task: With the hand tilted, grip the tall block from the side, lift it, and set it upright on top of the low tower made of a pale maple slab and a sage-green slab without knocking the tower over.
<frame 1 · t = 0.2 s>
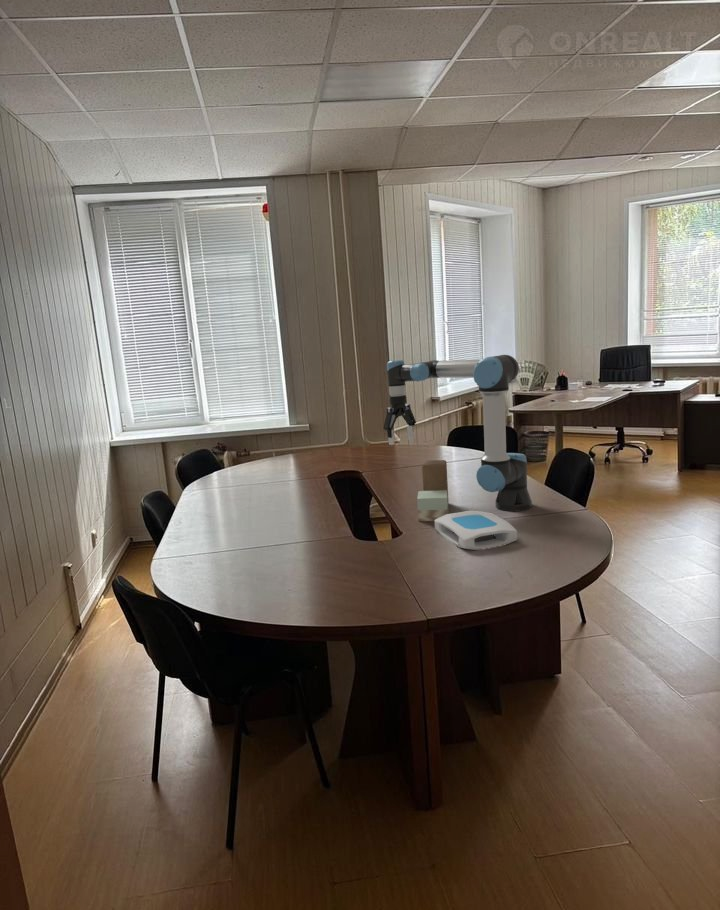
hand: (401, 442, 299), 27 cm above the table, tool pointing down, fingers open, 13 cm apart
block: (436, 507, 292), on the table
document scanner: (474, 537, 249), on the table
tower lower slab: (433, 517, 278), on the table, touching tower upper slab
tower upper slab: (433, 505, 277), point 5 cm above the table, touching tower lower slab
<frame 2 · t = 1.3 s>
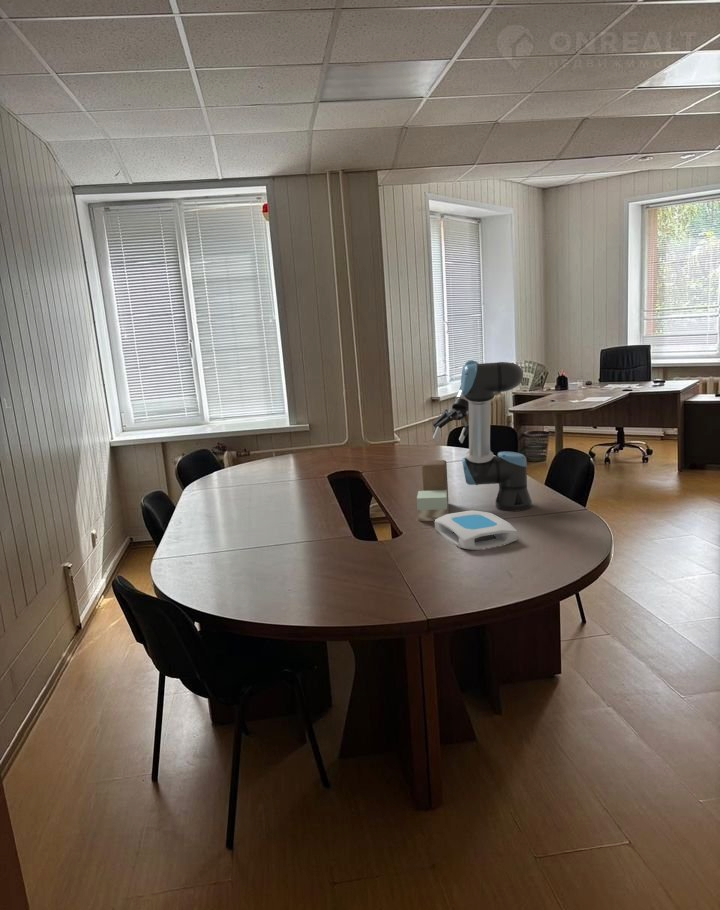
hand: (447, 440, 295), 27 cm above the table, tool tilted 45°, fingers open, 13 cm apart
nothing on the table moved.
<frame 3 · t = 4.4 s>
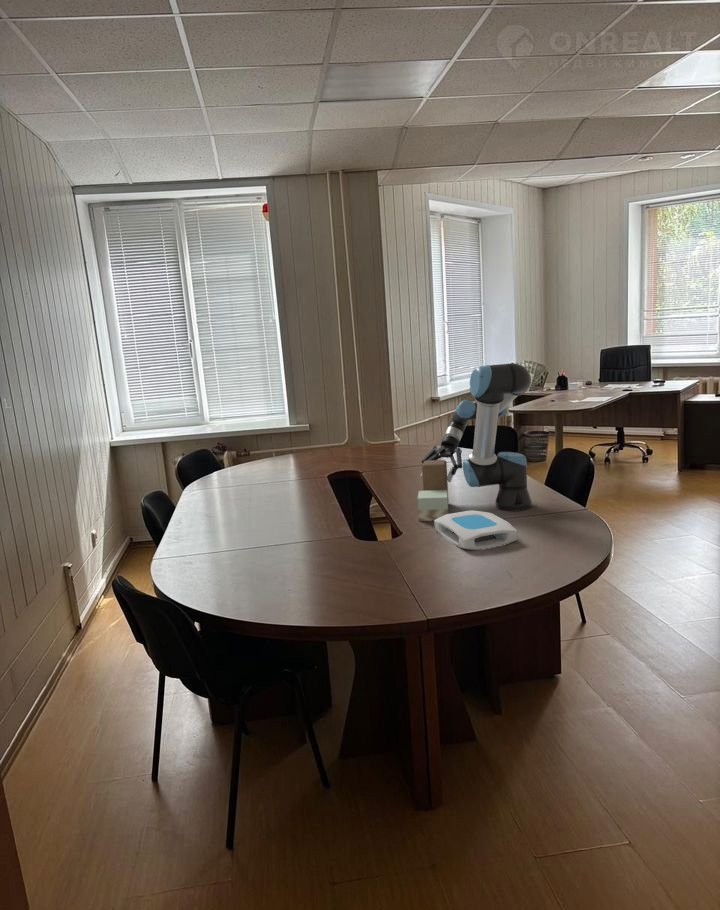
hand: (435, 479, 291), 12 cm above the table, tool tilted 45°, fingers open, 13 cm apart
block: (436, 507, 292), on the table, touching gripper
everything else where it was.
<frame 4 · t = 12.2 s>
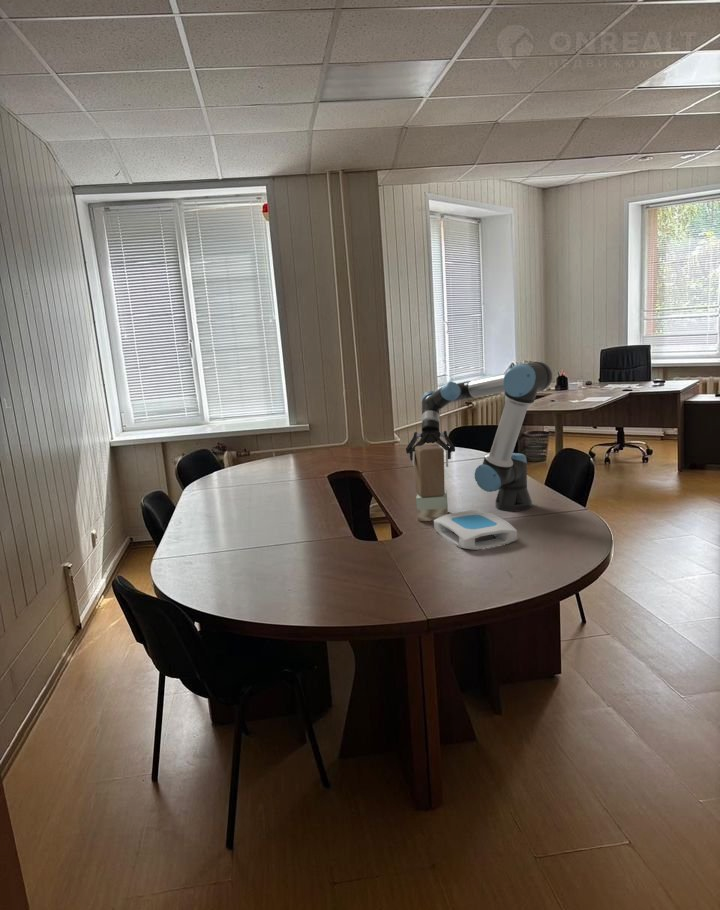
hand: (430, 466, 271), 22 cm above the table, tool tilted 45°, fingers open, 13 cm apart
block: (430, 494, 275), point 10 cm above the table, touching gripper, tower upper slab
tower upper slab: (432, 505, 277), point 5 cm above the table, touching block, tower lower slab
everything else where it was.
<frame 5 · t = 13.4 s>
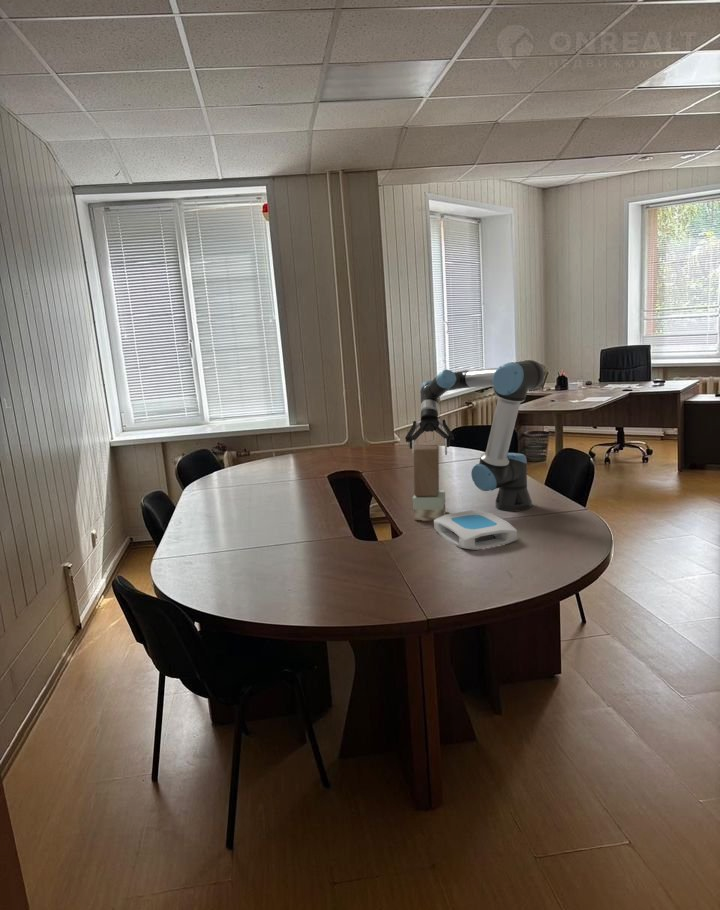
hand: (429, 454, 275), 26 cm above the table, tool tilted 45°, fingers open, 13 cm apart
block: (426, 494, 277), point 9 cm above the table, touching tower upper slab
tower lower slab: (430, 517, 279), on the table, touching tower upper slab
tower upper slab: (429, 505, 278), point 4 cm above the table, touching block, tower lower slab
everything else where it was.
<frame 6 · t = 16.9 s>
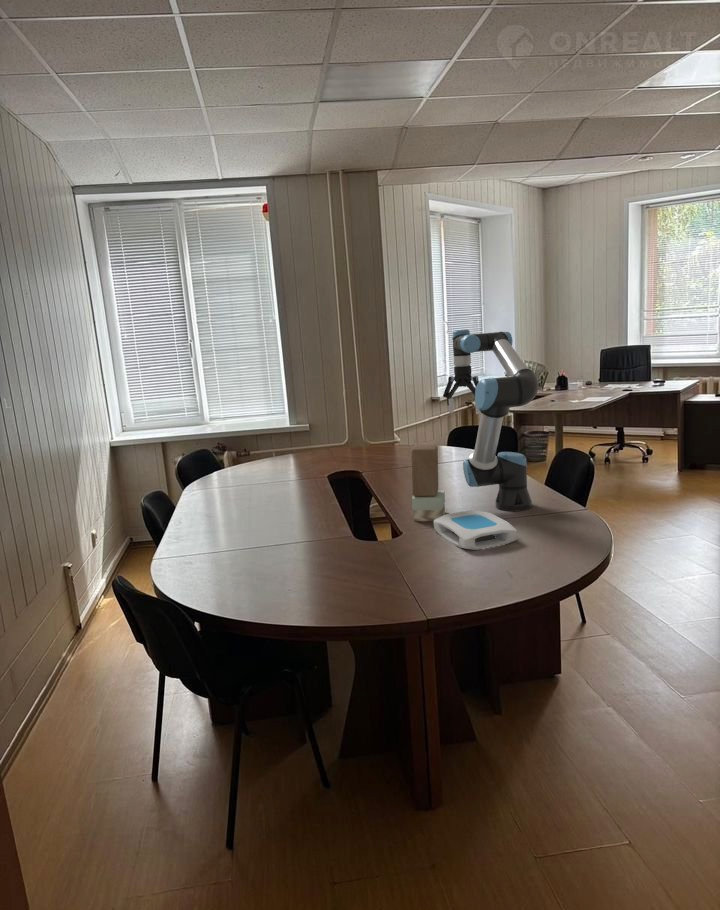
hand: (464, 413, 295), 39 cm above the table, tool pointing down, fingers open, 13 cm apart
at the end: block inside the target area on the tower lower slab (1.4 cm from its centre), point 9.9 cm above the tower lower slab's base; block tilted 2°; tower upper slab 0.3 cm off-centre on the tower lower slab, point 5.0 cm above the tower lower slab's base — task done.
